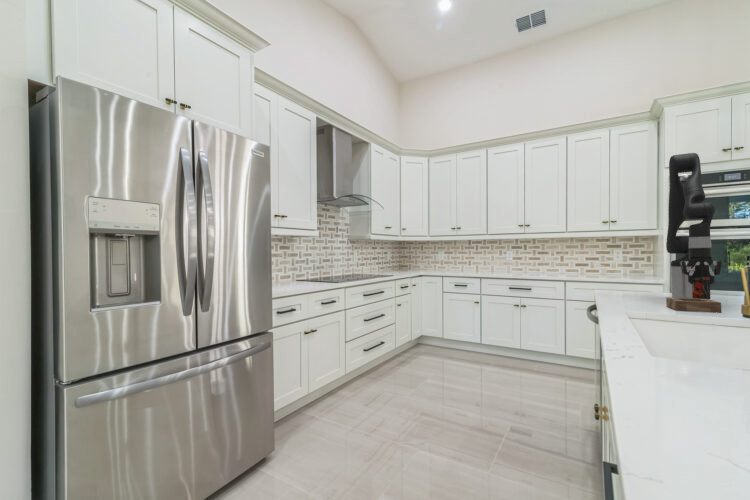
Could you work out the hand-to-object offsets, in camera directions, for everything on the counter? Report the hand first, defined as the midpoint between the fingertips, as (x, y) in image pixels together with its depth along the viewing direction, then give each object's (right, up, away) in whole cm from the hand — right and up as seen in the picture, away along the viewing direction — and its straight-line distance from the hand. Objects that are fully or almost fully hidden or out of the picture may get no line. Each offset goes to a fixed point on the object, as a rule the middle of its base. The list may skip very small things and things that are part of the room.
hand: (700, 283), depth 157 cm
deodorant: (0, -7, 0) cm, 7 cm away
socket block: (-12, -10, -9) cm, 18 cm away
